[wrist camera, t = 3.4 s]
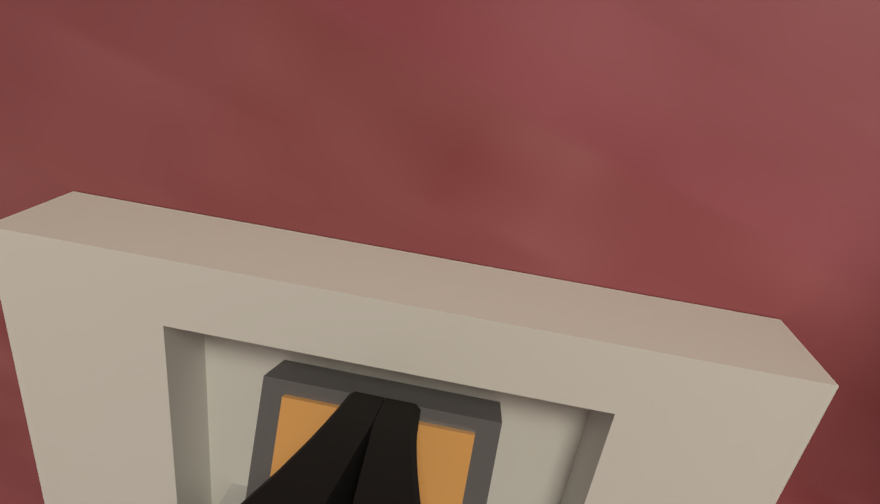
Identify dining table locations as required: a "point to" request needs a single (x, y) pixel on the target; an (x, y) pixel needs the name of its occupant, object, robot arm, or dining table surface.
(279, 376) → the rocker
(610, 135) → the dining table surface
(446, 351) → the breaker housing
